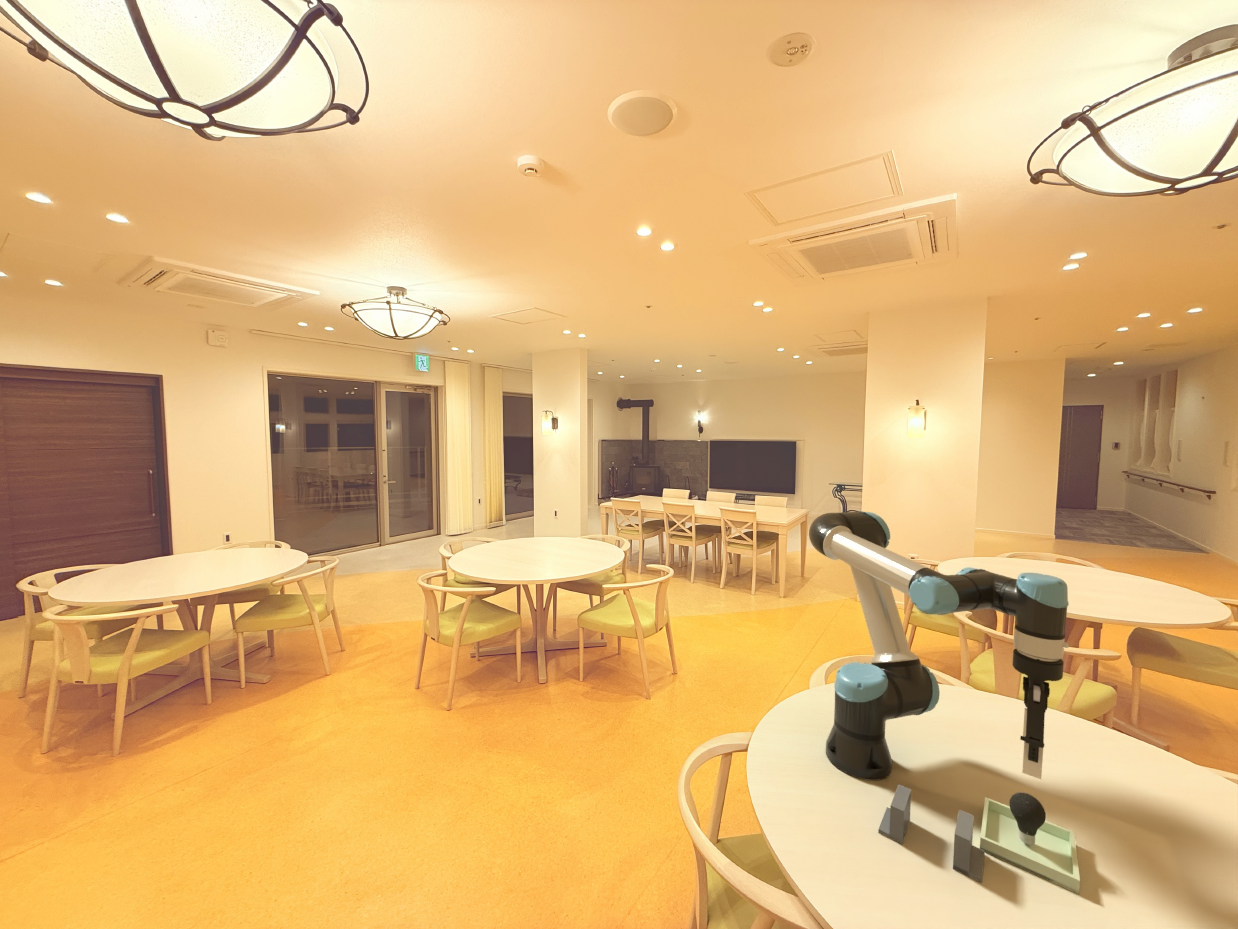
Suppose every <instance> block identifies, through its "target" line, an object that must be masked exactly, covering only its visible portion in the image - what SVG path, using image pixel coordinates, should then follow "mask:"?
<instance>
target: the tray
mask: <svg viewBox="0 0 1238 929" xmlns="http://www.w3.org/2000/svg"><path fill="white" fill-rule="evenodd" d="M981 822H982V823H981V829H980V839H979V840H980V841H979V842H980V843H979V848H980V849H982V850H984V851H985V853H986V854H988V855H991V856H992V857H995V858H997V859H999V860H1001V861H1003V862H1006V863H1008V864H1010V865H1013V866H1015V867H1017V868H1020V869H1021V870H1024V871H1026V872H1028V873H1031V874H1033V875H1035V876H1037V877H1039V878H1042V879H1044V880H1046V881H1048V882H1050V883H1052V884H1054V885H1057V886H1059V887H1062V888H1064V889H1066V890H1068V891H1070V892H1072V893H1075V894H1077V895H1080V888H1081V877H1080V869H1079V861H1078V853H1077V851H1078V850H1077V845H1076V844H1077V843H1076V836H1075V831H1073V830H1071V829H1068V828H1066V827H1063V826H1060V825H1059V824H1055V823H1053V822H1051V821H1048V820H1045V822H1044V824H1043V825H1042V826H1041V827H1040V828H1039V829H1038V830H1037V833H1036V835H1035V844H1034V845H1026V844H1024V842H1022V841H1021V840H1020V838H1019V828H1018V825H1017V821H1016V819H1015V818H1014V816H1013V814H1012V812H1011V810H1010V806H1009V805H1006V804H1005V803H1002V802H999V801H996V800H995V799H992V798H988V797H986V796H985V797H984V804H983V812H982V820H981Z"/></svg>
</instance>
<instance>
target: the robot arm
mask: <svg viewBox="0 0 1238 929" xmlns="http://www.w3.org/2000/svg"><path fill="white" fill-rule="evenodd" d="M887 524H888V523H887V522H886V521H885V520H884V519H883V518H882V517H881V516H880V515H878V514H877V513H874V512H872V511H871V512H870V511H862V510H861V511H860V510H859V511H846V512H843V511H842V512H827V513H823V514H821V515H818V516H817V517H816V518H815V519H813V521H812V523H811V525H810V527H809V531H808V536H809V542H810V543H811V545H812V546H813V548H814V549H815V550H816V551H817V552H818V553H819V554H821V555H823V556H824V557H827V558H828V559H831V560H833V561H835V560H836V561H838V560H840V561H842V562H844V563H846V564H847V565H848V566H849V567H850V569H851V572H852V573H851V574H852V576H853V580H854V585H855V587H856V590H857V594H858V598H859V601H860V605H861V609H862V612H863V616H864V619H865V623H866V627H867V629H868V634H869V637H870V640H871V645H872V648H873V651H874V655H873V657H872V658H871V659H870V662H871V663H867V662H864V663H861V662H859V661H858V662H849V663H846V664H845V663H844V664H843V665H842V666H840V667H839V668H838V670H836V675H835V681H834V716H833V720H834V721H833V725H832V727H831V729H830V732H829V734H828V736H827V739H826V743H825V755H826V758H827V759H828V760H829V762H830V763H831V764H832V765H833V766H834V767H836V768H837V769H839V771H842V772H844V773H845V774H847V775H849V776H852V777H855V778H858V779H861V780H867V781H880V780H884V779H886V778H888V777H889V776H890V775H891V774H892V770H893V769H892V768H893V759H892V756H891V752H890V750H889V749H890V748H889V746H888V743H887V739H886V722H887V721H889V720H894V719H898V718H904V717H909V716H921V715H923V714H924V713H928V712H930V711H933V709H935V708H936V706H937V704H938V702H939V701H940V685H939V682H938V680H937V677H936V676H935V675H934V673H933V672H931V671H930V668H928V666H926V665H924V664H921V659H920V657H919V655H917V654H915V653H914V652H912V651H911V649H910V646H909V643H908V638H907V636H906V632H905V630H904V625H903V623H902V620H901V616H900V613H899V610H898V606H897V602H896V599H895V597H894V594H893V590H892V588H894V589H895V590H898V592H899V591H900V592H901V593H903V594H905V595H906V596H909V598H910V601H911V603H912V604H913V605H914V606H915V607H916V609H917V610H918V611H920V612H921V613H924V614H926V615H941V616H943V615H949V614H954V613H961V612H970V611H979V610H992V611H996V612H1000V613H1002V614H1005V615H1009V616H1011V617H1012V616H1013V617H1014V627H1013V629H1014V630H1013V644H1012V645H1013V647H1014V649H1013V651H1012V668H1013V669H1014V670H1016V671H1017V672H1019V673H1020V674H1022V675H1025V676H1023V677H1022V690H1023V692H1024V693H1023V695H1024V696H1023V704H1024V706H1025V708H1024V713H1023V716H1024V717H1023V731H1022V735H1020V737H1019V738H1020V739H1019V740H1020V741H1023V753H1022V754H1023V755H1022V756H1023V757H1022V774H1025V775H1028V776H1030V777H1032V778H1033V777H1034V778H1036V779H1039V780H1042V776H1043V775H1042V773H1043V761H1044V760H1043V759H1044V758H1043V756H1044V747H1045V742H1044V740H1045V738H1044V736H1045V715H1046V714H1045V713H1046V711H1047V710H1048V706H1049V704H1048V702H1049V701H1048V700H1049V699H1048V698H1049V697H1050V691H1051V689H1050V682H1059V681H1061V680H1062V679H1063V677H1064V663H1065V662H1064V660H1063V658H1064V657H1065V656H1064V654H1065V649H1064V648H1067V649H1068V648H1070V645H1069V643H1068V642H1067V641H1065V640H1066V639H1065V638H1066V624H1067V614H1068V607H1069V603H1070V602H1069V599H1068V597H1069V596H1068V585H1067V583H1066V581H1064V580H1063V579H1061V578H1059V577H1058V576H1054V575H1049V574H1043V573H1038V572H1037V573H1036V572H1022V573H1020V574H1018V576H1017V578H1013V577H1010V576H1005V575H1002V574H999V573H994V572H991V571H989V570H986V569H983V568H975V567H970V566H969V567H964V568H962V569H961V570H960V571H958V572H957V573H956V574H949V575H948V574H944V573H941V572H939V571H936V570H933V569H932V568H930V567H928V566H926V565H923V564H921V563H919V562H917V561H914V560H912V559H910V558H907V557H905V556H903V555H900V554H898V553H897V552H895V551H892V550H890V549H887V548H888V546H889V545H890V540H891V531H890V528H889V526H888V525H887Z"/></svg>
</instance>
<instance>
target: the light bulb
mask: <svg viewBox="0 0 1238 929" xmlns="http://www.w3.org/2000/svg"><path fill="white" fill-rule="evenodd" d="M1008 804H1009V805H1008V806H1010V810H1011V812H1012V814H1013V816H1014V818H1015V819H1016V821H1017V825H1018V828H1019V838H1020V840H1021V841H1022V842H1024V844H1026V845H1034V844H1035V835H1036V833H1037V830H1038V829H1039V828H1040V827H1041V826H1042V825H1043V824H1044V822H1045V821H1046V819H1047V815H1046V810H1045V808H1044V805H1043V804H1042V803H1041V802H1040V800H1038V798H1036V797H1035V796H1034V795H1032V794H1030V793H1027V792H1022V791H1021V792H1020V791H1018V792H1016V793H1014V794H1012V795H1011V797H1009V801H1008Z"/></svg>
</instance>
